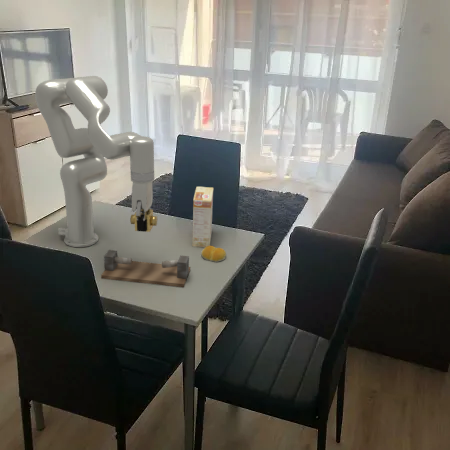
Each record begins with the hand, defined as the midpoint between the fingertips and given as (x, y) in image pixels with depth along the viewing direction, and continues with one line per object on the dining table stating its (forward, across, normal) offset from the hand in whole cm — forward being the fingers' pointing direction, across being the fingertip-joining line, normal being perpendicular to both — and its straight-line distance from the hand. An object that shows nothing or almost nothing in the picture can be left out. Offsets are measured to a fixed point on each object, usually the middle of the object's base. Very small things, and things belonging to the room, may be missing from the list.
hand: (144, 227), depth 167 cm
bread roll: (+17, -15, +22) cm, 31 cm away
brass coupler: (+1, 0, 0) cm, 1 cm away
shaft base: (+16, +3, +1) cm, 17 cm away
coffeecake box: (+16, -29, +16) cm, 37 cm away
